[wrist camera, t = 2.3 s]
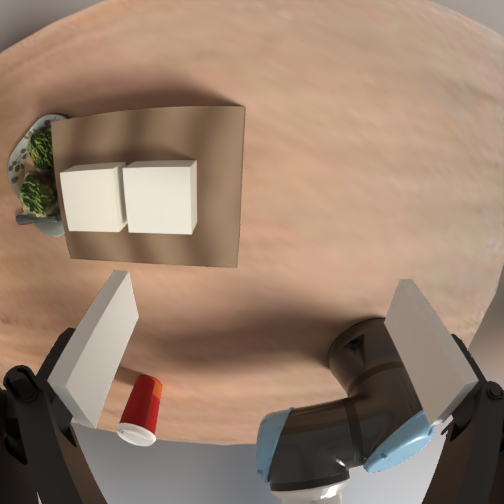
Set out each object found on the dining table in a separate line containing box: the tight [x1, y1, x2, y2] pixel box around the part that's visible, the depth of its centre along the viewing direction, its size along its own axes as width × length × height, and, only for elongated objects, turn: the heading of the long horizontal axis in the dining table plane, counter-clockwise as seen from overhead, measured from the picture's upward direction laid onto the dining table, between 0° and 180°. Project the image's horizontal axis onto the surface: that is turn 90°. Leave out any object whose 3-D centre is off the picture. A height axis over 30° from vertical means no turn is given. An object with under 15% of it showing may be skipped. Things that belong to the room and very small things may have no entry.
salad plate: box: [8, 113, 70, 237], centre depth 33 cm, size 19×18×5 cm
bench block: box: [51, 106, 245, 268], centre depth 30 cm, size 20×16×9 cm
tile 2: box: [60, 162, 128, 232], centre depth 25 cm, size 6×6×3 cm
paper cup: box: [117, 375, 162, 446], centre depth 48 cm, size 8×8×14 cm
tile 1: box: [123, 160, 197, 235], centre depth 25 cm, size 6×6×3 cm
